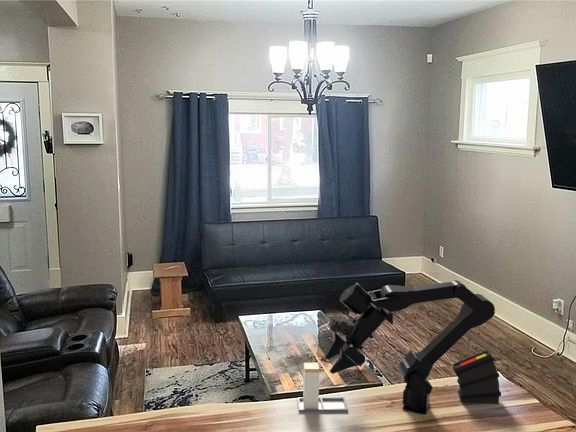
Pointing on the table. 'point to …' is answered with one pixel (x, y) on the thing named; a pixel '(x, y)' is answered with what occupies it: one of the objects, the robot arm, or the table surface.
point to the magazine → (478, 379)
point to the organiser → (325, 405)
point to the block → (311, 386)
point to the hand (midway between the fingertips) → (328, 365)
